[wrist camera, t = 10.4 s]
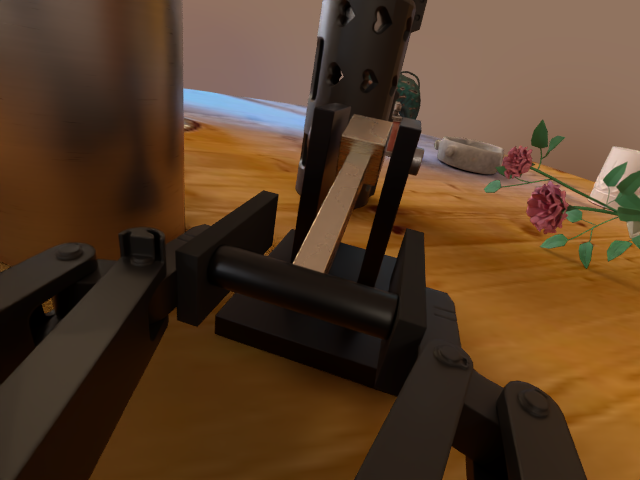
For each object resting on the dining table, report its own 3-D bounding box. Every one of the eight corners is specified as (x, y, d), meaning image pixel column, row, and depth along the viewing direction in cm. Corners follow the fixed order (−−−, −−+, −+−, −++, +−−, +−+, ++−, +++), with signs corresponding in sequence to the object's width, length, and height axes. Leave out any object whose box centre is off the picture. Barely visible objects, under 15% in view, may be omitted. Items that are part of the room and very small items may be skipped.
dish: (492, 166, 78) (501, 145, 76) (507, 182, 66) (519, 156, 63) (429, 153, 80) (436, 131, 78) (433, 165, 68) (441, 140, 65)
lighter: (373, 146, 75) (384, 98, 71) (388, 148, 76) (400, 101, 71) (378, 154, 68) (391, 101, 64) (394, 157, 68) (409, 105, 64)
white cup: (620, 215, 58) (656, 157, 53) (574, 197, 64) (603, 144, 59) (643, 214, 61) (679, 160, 57) (598, 198, 67) (627, 148, 63)
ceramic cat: (356, 126, 98) (373, 48, 89) (348, 122, 103) (363, 48, 94) (415, 135, 104) (435, 63, 95) (404, 130, 110) (423, 62, 101)
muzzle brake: (361, 185, 47) (287, 178, 44) (423, -77, 34) (326, -111, 31) (388, 213, 39) (300, 206, 36) (482, -116, 26) (358, -166, 23)
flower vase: (706, 339, 41) (495, 275, 29) (633, 262, 49) (448, 189, 38) (842, 283, 33) (633, 166, 22) (729, 204, 42) (536, 90, 30)
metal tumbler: (99, 297, 19) (18, -226, 10) (-66, 240, 21) (-256, -243, 12) (213, 221, 29) (223, -67, 21) (97, 188, 31) (60, -89, 22)
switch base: (399, 397, 16) (498, 159, 11) (214, 334, 18) (223, 98, 13) (406, 275, 27) (459, 123, 22) (289, 242, 29) (312, 92, 23)
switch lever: (381, 356, 11) (400, 314, 9) (211, 301, 12) (200, 253, 10) (416, 169, 19) (429, 129, 18) (317, 145, 20) (320, 106, 19)
